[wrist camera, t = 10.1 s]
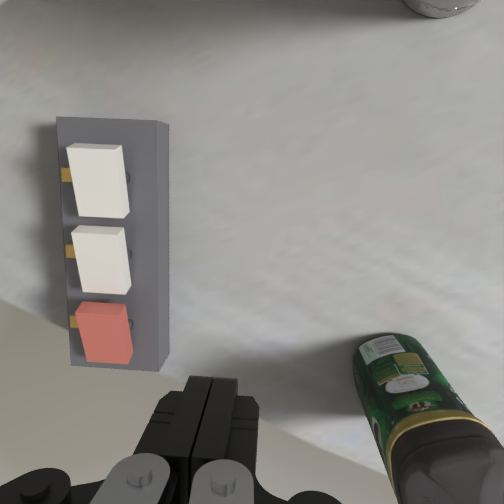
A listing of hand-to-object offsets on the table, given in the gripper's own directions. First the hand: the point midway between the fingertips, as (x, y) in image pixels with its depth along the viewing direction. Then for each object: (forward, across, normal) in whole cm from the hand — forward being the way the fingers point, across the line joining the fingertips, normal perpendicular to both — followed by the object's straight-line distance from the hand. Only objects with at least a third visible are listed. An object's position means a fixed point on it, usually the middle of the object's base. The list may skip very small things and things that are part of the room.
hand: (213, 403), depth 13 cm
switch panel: (+29, +14, +2) cm, 32 cm away
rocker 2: (+24, +14, +2) cm, 28 cm away
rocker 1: (+24, +14, -6) cm, 29 cm away
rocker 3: (+24, +14, +8) cm, 29 cm away
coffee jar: (+29, -15, +14) cm, 36 cm away
